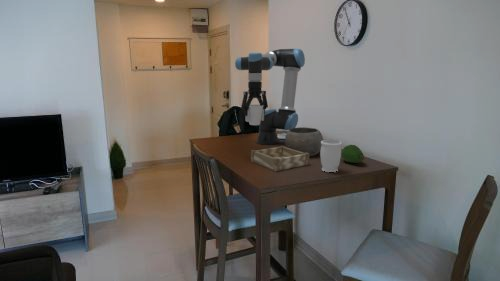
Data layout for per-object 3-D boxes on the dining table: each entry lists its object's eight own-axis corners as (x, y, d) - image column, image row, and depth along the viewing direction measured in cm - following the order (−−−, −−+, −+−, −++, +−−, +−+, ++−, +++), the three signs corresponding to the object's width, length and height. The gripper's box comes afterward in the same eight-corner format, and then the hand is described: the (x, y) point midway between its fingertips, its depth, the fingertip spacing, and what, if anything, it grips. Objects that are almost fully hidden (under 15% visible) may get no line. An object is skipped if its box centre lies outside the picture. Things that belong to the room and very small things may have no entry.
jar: (317, 167, 182) (318, 139, 178) (336, 167, 182) (337, 139, 179) (322, 173, 171) (324, 144, 168) (343, 173, 172) (344, 144, 169)
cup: (261, 126, 191) (261, 106, 189) (244, 125, 193) (244, 105, 191) (264, 123, 201) (265, 104, 198) (248, 122, 203) (248, 104, 201)
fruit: (368, 166, 185) (369, 148, 183) (351, 167, 182) (353, 149, 180) (352, 159, 199) (354, 142, 197) (337, 160, 197) (338, 143, 195)
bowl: (280, 150, 220) (280, 126, 217) (313, 148, 225) (314, 125, 222) (291, 159, 198) (292, 133, 195) (328, 157, 203) (330, 132, 200)
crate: (282, 155, 206) (282, 145, 204) (309, 164, 187) (309, 153, 186) (250, 161, 193) (250, 150, 192) (275, 171, 175) (276, 159, 173)
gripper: (267, 80, 201) (266, 118, 205) (234, 81, 189) (234, 121, 194) (274, 81, 195) (274, 120, 199) (241, 81, 183) (241, 123, 188)
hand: (254, 120), depth 197 cm, fingers closed on cup, 9 cm apart
